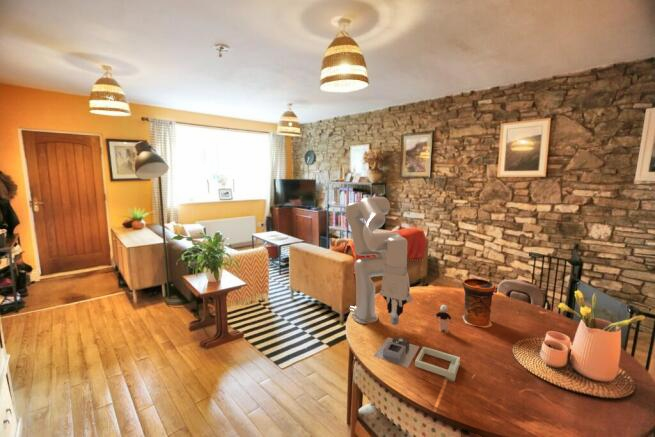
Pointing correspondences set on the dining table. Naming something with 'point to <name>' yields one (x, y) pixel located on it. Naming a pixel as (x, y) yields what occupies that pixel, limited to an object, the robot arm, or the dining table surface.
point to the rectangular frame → (448, 374)
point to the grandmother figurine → (443, 319)
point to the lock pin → (394, 311)
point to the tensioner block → (397, 351)
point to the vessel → (478, 302)
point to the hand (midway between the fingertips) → (394, 312)
